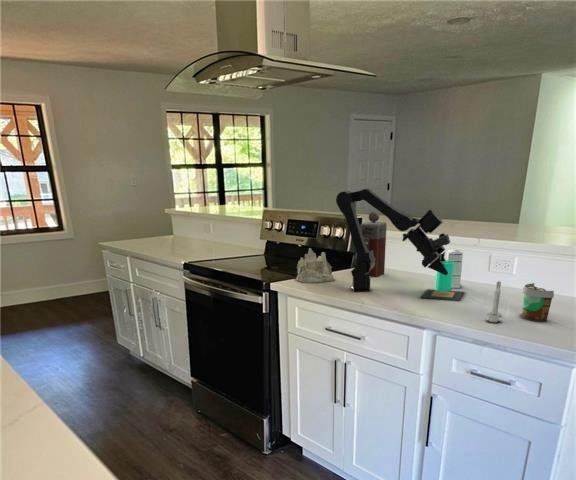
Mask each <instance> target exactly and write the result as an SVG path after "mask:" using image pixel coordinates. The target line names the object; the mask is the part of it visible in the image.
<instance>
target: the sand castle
mask: <svg viewBox="0 0 576 480" xmlns="http://www.w3.org/2000/svg"><path fill="white" fill-rule="evenodd" d="M307 251H308V252H307V253H305V254H304V257H300V260H298V262H297V265H296V269H297V275H296V281H298V282H301V283H303V284H315V283H316V284H317V283H318V284H319V283H328V282H332V281H334V280H335V279H334V275H333V271H332V268H333V267H332V266H331V264H330V263H329V262H328V260H327V256H326V255H327V254H326V252H324V251H322V252H321V253H320V255H318V256H317V254H316V252H314V251H313V250H312V248H310V247H309V248H308V250H307Z"/></svg>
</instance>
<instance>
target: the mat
mask: <svg viewBox="0 0 576 480" xmlns="http://www.w3.org/2000/svg"><path fill="white" fill-rule="evenodd" d="M464 294H465V291H458V290H451V291H447V292H441V291H436V290H435V289H430V288H429V289H427V290H426V291H425V292H424V293H423V294H422V296H421V297H420V299H425V300H439V301H440V300H441V301H454V302H460V301H461V299H462V297H463V295H464Z"/></svg>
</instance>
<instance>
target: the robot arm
mask: <svg viewBox="0 0 576 480" xmlns="http://www.w3.org/2000/svg"><path fill="white" fill-rule="evenodd" d="M360 201H365V202H366V203H367V204H369V205H370V206H372V208H374V209H376V210H377V211H378V212H380V213H381V214H383V215H384V216H385V217H386V218H387V219H389V221H390V222H391V224H392V225H393V226H394V227H395V228H396V229H397V230H398V231H399V232H406V231H407V232H406V233H402V242H405V241H407V240H409V242H410V243H411V245H413V246H414V248H415V250H416V252H417V253H420V254H421V255H422V257H423V258H422V260H421V265H422V266H423V268H426V267H427V269H431V270H433V271H436V272H437V271H438V272H440V273H442V274H444V275H447V274H448V272H447V270H446V269H445V267H444V265H443V264H442V262H441V261H447V259H446V258H445V256H446V248H445V247H444V246H448V245H449V244H450V243H451V240H450V236H449V234H448V233H447V234H446V233H444V232H443V233H439V235H438V238H435V239H433V238H432V237H428V235H427V234H428V233H429V234H432V233H433V232H434V231H435V230H437V228H439V227H440V226H441V225H442V224H443V223H444V221H443V220H442V218H441V217H440V215H439V214H437V213H436V212H435V211H433V209H429V210H427V212H426V213H425V214H424V215H423V216H422V217H421V218H416V217H413V215H411V214H410V213H407V212H405V211H403V210H400V209H397V208H396V207H394V206H393V205H392V204H390V203H389V202H387V201H386V200H384V199H383V198H382V197H380V196H379V195H378V194H376V193H375V192H373V191H372V189H371V188H363V189H361V190H356V191H351V190H346V191H345V190H344V191H341V192H339V193H338V194H337V195H336V198H335V203H336V206H337V207H338V209H339V210H340V212H341V213H342V215H343V217H344V219H345V221H346V224H347V227H348V230H349V234H350V237H351V240H352V243H353V246H354V251H355V263H356V266H355V267H354V268H353V269H352V270H351V271H350V273H351V276H352V284H351V289H352V291H353V292H369V291H370V290H371V278H370V277H369V274H368V273H369V272H370V270H371V269H372V268H373V267H374V265H375V260H376V259H375V257H374V253H373V250H372V251H369V250H368V249H367V247H366V244H365V241H364V237H363V234H362V231H361V228H360V226H361V224H360V222H359V219H358V215H357V202H360ZM416 226H417V227H416ZM414 227H416V228H415V229H414ZM408 230H409V231H408Z"/></svg>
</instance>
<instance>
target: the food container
mask: <svg viewBox="0 0 576 480" xmlns="http://www.w3.org/2000/svg"><path fill="white" fill-rule="evenodd" d="M521 293H522V294H523V300H522V314H521V317H522V318H523V319H525V320H528V321H532V322H547V321H548V317H549V313H550V309H551V308H550V307H551V304H552V301H553V298H555V291H554V290H546V289H545V288H543V287H537V286H535V283H533V282H532V283H526V284H525V285H524V286H523V288H522V290H521Z"/></svg>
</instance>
